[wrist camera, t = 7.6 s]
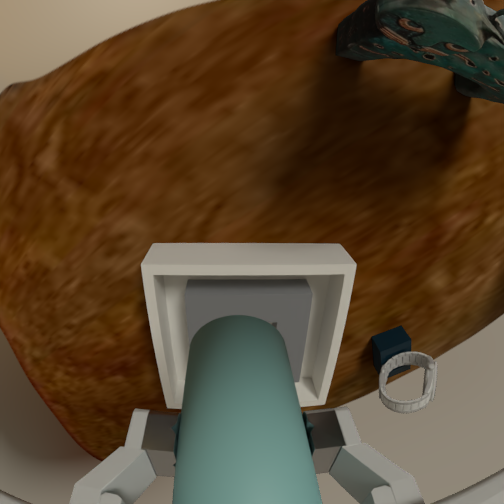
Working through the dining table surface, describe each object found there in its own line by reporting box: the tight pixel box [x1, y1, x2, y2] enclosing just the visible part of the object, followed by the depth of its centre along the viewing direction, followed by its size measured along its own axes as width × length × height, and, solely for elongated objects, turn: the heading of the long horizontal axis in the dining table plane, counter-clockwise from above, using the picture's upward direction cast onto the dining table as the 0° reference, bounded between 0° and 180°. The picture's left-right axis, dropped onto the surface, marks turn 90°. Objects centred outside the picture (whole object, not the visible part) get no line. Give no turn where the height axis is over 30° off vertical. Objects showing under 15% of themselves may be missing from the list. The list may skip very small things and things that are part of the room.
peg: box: [173, 315, 322, 504], centre depth 8 cm, size 4×4×10 cm
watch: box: [372, 326, 437, 413], centre depth 34 cm, size 6×8×11 cm
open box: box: [141, 243, 357, 409], centre depth 33 cm, size 19×19×5 cm
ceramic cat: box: [336, 0, 504, 104], centre depth 16 cm, size 20×6×20 cm, turn 84°
